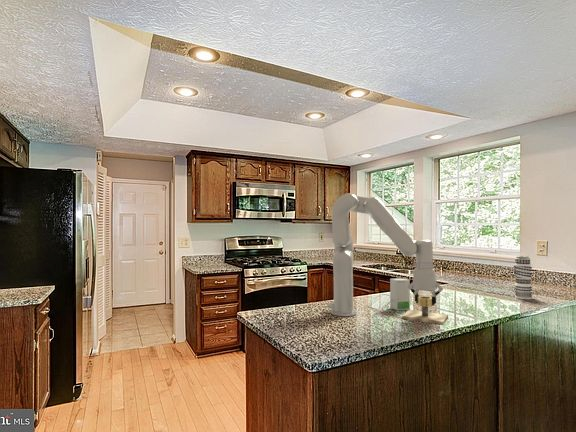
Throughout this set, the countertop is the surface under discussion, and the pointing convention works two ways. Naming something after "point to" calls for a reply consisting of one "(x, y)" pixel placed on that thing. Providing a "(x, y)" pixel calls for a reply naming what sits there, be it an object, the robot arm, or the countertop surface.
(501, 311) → the countertop surface
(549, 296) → the countertop surface
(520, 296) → the decorative candle
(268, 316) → the countertop surface
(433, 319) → the beige flat block
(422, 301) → the ring
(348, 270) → the robot arm
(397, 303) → the skincare box
